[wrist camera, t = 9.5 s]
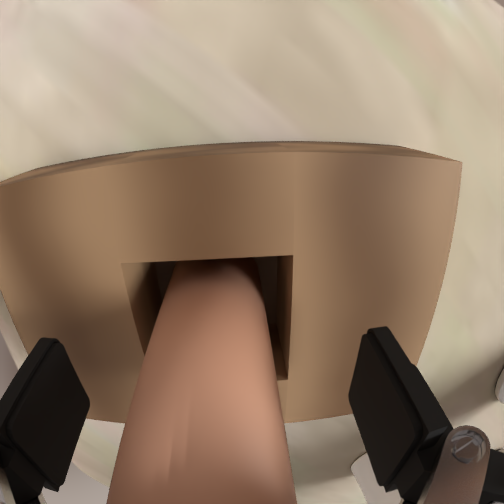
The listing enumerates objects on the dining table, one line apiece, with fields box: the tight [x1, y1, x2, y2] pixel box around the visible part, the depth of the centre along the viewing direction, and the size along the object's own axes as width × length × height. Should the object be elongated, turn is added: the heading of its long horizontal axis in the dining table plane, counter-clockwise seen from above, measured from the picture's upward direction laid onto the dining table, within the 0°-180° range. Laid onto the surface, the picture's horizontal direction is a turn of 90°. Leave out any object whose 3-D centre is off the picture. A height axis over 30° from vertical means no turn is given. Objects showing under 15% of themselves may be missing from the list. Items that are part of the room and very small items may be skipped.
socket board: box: [0, 141, 462, 423], centre depth 13 cm, size 18×12×5 cm, turn 92°
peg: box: [107, 257, 297, 504], centre depth 9 cm, size 4×4×12 cm
